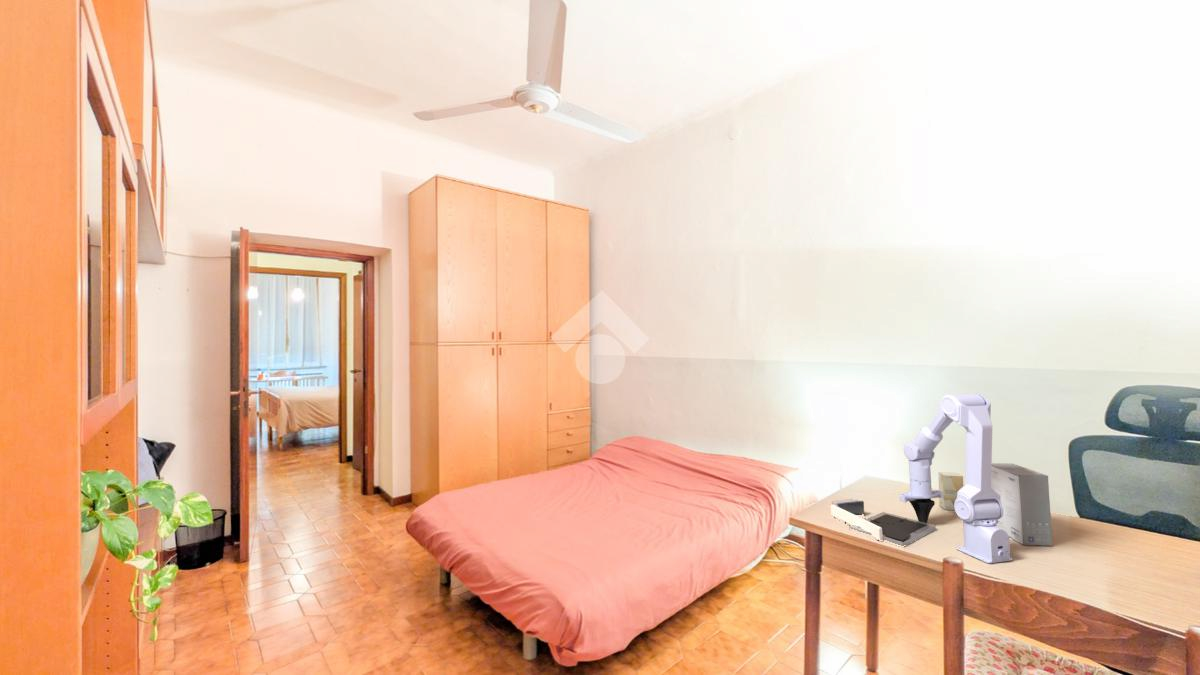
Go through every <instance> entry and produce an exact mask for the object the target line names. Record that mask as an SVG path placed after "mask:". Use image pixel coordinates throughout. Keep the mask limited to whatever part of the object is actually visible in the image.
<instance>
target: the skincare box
mask: <svg viewBox="0 0 1200 675" xmlns="http://www.w3.org/2000/svg"><path fill="white" fill-rule="evenodd" d="M937 474H938V475H937V476H938V491H941V492H943V498H938V501H939V502H938V504H939V507H941V508H942V509H943V510H947V511H955V508H954V503H955V500H956V499H957V492H958V491H959V490H960V489H961V488H962V487H963V486H964V476H963V474H961V473H960V472H949V471H947V472H946V471H944V472H943V471H942V472H941V471H938V473H937Z"/></svg>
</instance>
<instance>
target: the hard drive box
mask: <svg viewBox="0 0 1200 675" xmlns="http://www.w3.org/2000/svg"><path fill="white" fill-rule="evenodd" d="M1049 487H1050V486H1049V475H1047V474H1044V473H1041V472H1038V471H1035V470H1034V469H1033V470H1032V469H1031V468H1027V467H1023V466H1021V465H1018V464H1015V463H1000V462H999V463H997V462H993V463H992V462H991V489H992V490H994V491H995V492H997V493H998V494H999V495H1000V496H1001V497H1000V501H1001V504H1002V507H1003V516H1002V518H1000V519H998V522H999V523H996V525H997V526H998V527H999V528H1001V529H1002V530H1004V531H1005V532H1006V533H1007V534H1008V537H1009V538H1011V539H1012V540H1014V541H1016V542H1018V543H1019V544H1021V545H1025V546H1028V545H1029V546H1045V547H1046V546H1049V547H1053V533H1052V532H1053V528H1052V518H1051V517H1052V516H1051V505H1050V504H1051V502H1050V488H1049Z"/></svg>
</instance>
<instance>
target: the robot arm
mask: <svg viewBox="0 0 1200 675" xmlns="http://www.w3.org/2000/svg"><path fill="white" fill-rule="evenodd" d="M991 407H992V406H991V402H990V401H989V400H988V399H987V397H985V396H984V395H983V394H982V393H978V392H977V393H976V392H975V393H965V394H964V393H963V394H945V395H944V396H943V397H942V398H941V400H940V401H939V402H938V408H939V409H938V411H937V413H936V415H935V416H934V418H933V419H932V421H931V422H930V425H925V426H922V427H921V428H920V431H919V432H918V433H917V435H916V436H915V437H914V438H913V440H912V441H911V440H910V441H907V442H905V444H904V445H903V454H904V456H905V458H906V459H907V460H908V472H909V487H910V488H909V489H908V491H907V492H905V493H902V494H901V493H900V494H899V495H898V496H899V501H900V502H903V503H907V502H909V503H910V505H911V507H912V508H913V510H914V512H915V514H916V518H917V521H920V522H924V523H928V520H929V516H930V513H931V511H932V509H933V507H934V506H935V504H936V502H935V501H934V500H933V499H936V498H937V499H939V498H943V492H941V491H939V489H938V490H932V489H933V488H932V472H931V466H932V465H933V459H934V458H935V452H934V451H935V449H936V448H937V447H938V445H939V444H940V443H941V441H942V440H943V438H944V435H943V432H944V431H945V430H946V429H947V428H948V427H949V426H950V425H951V424H952V423H953V422H955V423H956V424H958V425H959V426H961V427H963V428H964V429H965V430H966V440H965V441H966V442H965V443H966V446H965V447H966V448H965V450H966V452H965V485H964V484H963V487H962V488H961V489H960V490H959V491H958V492H957V499H956V500H955V503H954V508H955V510H954V511H955V513H956V514H957V516H958V517H959V519H960V520H961V521H962V526H963V528H962V529H963V544H964V546H958V547H956V550H958V551H960V552H962V553H964V554H966V555H968V556H971V557H974V558H976V559H978V560H980V561H982V562H984V563H987V564H995V563H1002V562H1008V561H1013V560H1014V559H1013V558H1012V556H1011V552H1010V551H1011V550H1010V549H1011V548H1010V537H1009V536H1008V534H1007V533H1006V532H1005V531H1004V530H1002V529H1001V528H999V527H998V526H997V525H996V523H999V522H998V519H1000V518H1002V516H1003V507H1002V504H1001V501H1000V497H1001V496H1000V495H999V494H998V493H997V492H995V491H994V490H992V489H991V463H992V462H993V461H992V460H993V459H992V456H993V455H992V454H993V447H992V446H993V424H992V420H991V415H992V414H991V411H992V410H991Z"/></svg>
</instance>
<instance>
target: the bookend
mask: <svg viewBox="0 0 1200 675" xmlns="http://www.w3.org/2000/svg"><path fill="white" fill-rule="evenodd" d="M837 507H839V508H841V509H844V510H846V511H848V512H850V513H852V514H854V515H862V514H864V515H865V502H864V500H859V501H854V502H845V503H837Z"/></svg>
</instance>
